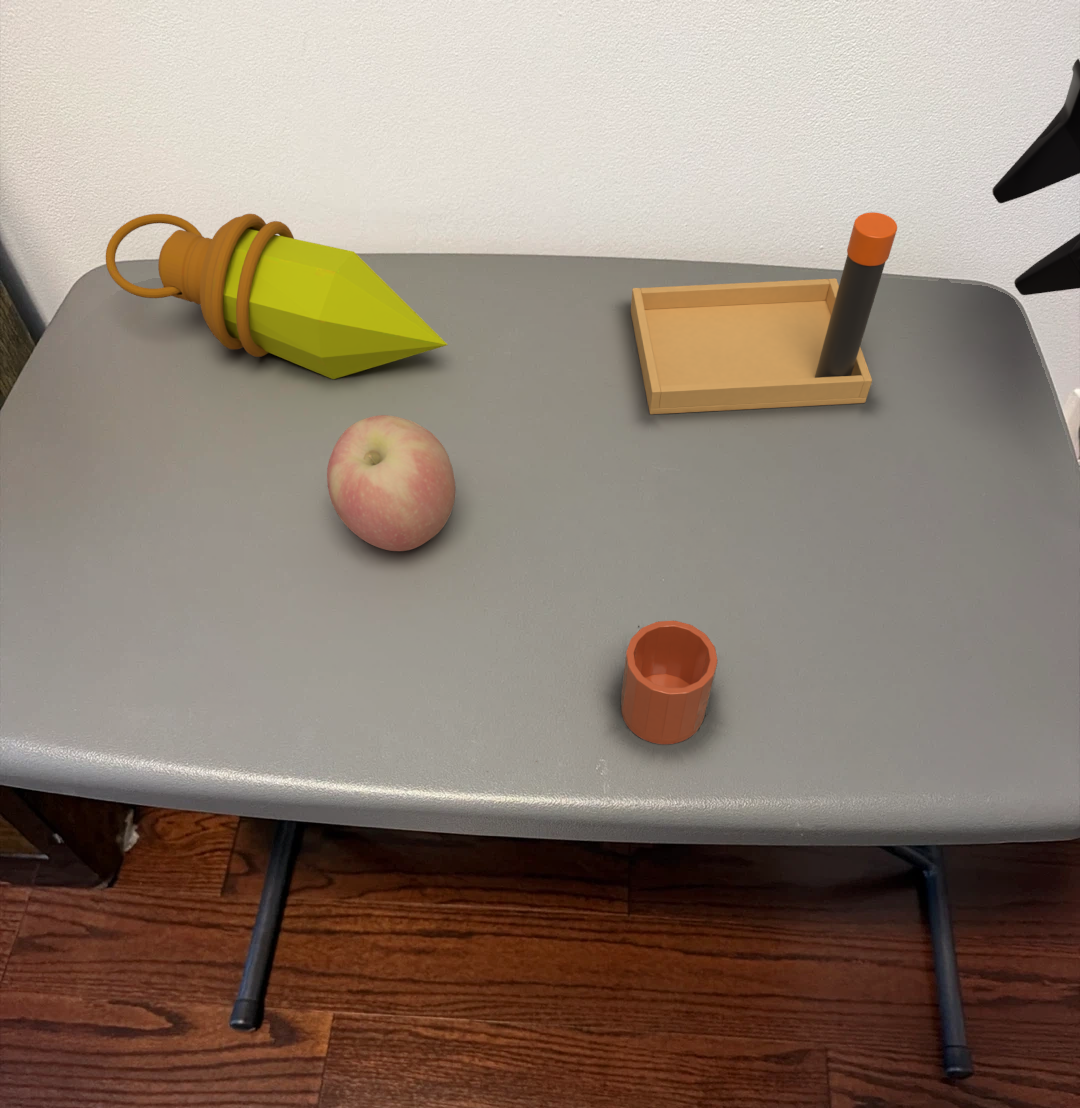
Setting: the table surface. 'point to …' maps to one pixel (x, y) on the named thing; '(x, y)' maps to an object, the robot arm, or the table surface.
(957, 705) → the table surface
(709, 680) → the pen cup
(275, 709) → the table surface
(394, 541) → the apple
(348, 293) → the plumb bob
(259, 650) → the table surface
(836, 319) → the cylinder
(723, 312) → the tray
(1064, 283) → the robot arm
